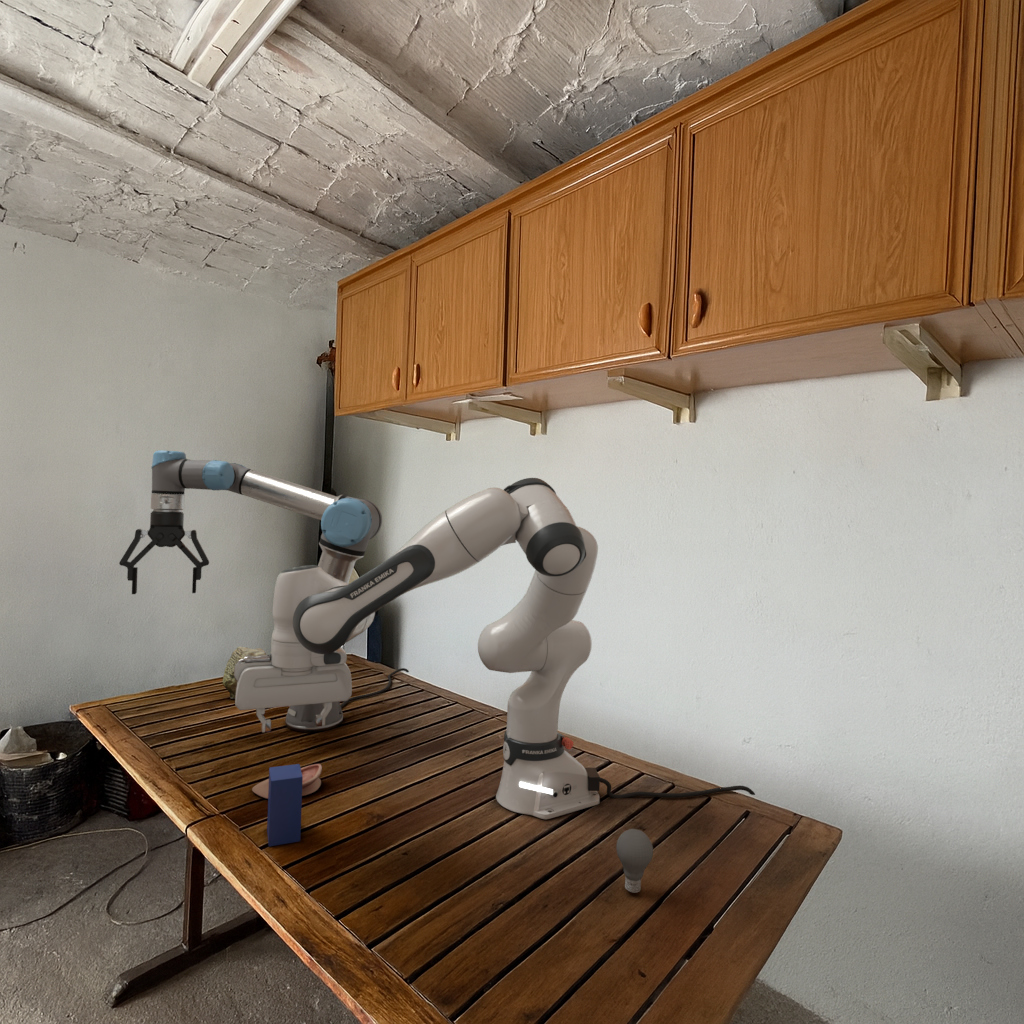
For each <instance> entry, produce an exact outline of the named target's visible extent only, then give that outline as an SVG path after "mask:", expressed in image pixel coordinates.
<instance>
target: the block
mask: <svg viewBox="0 0 1024 1024" xmlns="http://www.w3.org/2000/svg"><path fill="white" fill-rule="evenodd" d="M301 768H302V767H301V764H300V763H296V764H287V765H279V766H271V767H269V768H268V779H269V790H268V799H267V817H266V818H267V819H266V820H267V821H266V833H267V843H268V847H275V846H280V845H287V844H292V843H299V842H301V835H302V834H301V833H302V809H303V808H302V806H303V796H302V781H303V776H302V772H301Z"/></svg>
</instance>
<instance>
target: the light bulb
mask: <svg viewBox="0 0 1024 1024" xmlns="http://www.w3.org/2000/svg"><path fill="white" fill-rule="evenodd" d="M615 849H616V854H617V857H618V859H619V861H620V863H621V865H622V867H623V873H624V874H623V875H624V876H625V878H624V888H625V890H627V891H628V892H630V893H634V894H635V893H639V892H640V891H641V889H642V887H641V886H642V879H643V877H644V875H645V871H646V868H647V867H648V866H649V864H650V863H651V861H652V859H653V855H654V847H653V843H652V841H651V838H649V836H648V835H647V834H646V833H645V832H643V831H642V830H641V829H636V828H629V829H627V830H625V831H623V832H622V833H621V834H620V835H619V837H618V839H617V841H616V847H615Z"/></svg>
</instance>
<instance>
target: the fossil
mask: <svg viewBox="0 0 1024 1024" xmlns="http://www.w3.org/2000/svg"><path fill="white" fill-rule="evenodd" d="M261 655H268V654H267V653H266V652H265V650H264V649H263V648H260V647H258V648H251V647H247V646H246V647H245V646H238V647H237V648H236V649H235V650H233V651H232V653H231V656H230V657H229V659H228V660H227V663H226V666H225V668H224V671H223V675H222V676H223V677H222V685H223V687H224V688H225V690H226V691H228V693H229V698H230V699H235V695H236V687H237V682H238V681H237V680H236V679H235V677H234V667H235V664H236V663H237V662H238V661H239V660H241V659H244V657H246V656H261ZM242 662H244V661H242ZM242 662H240V663H242ZM270 663H271V661H270Z"/></svg>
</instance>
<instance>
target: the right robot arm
mask: <svg viewBox="0 0 1024 1024" xmlns="http://www.w3.org/2000/svg"><path fill="white" fill-rule="evenodd" d="M516 543H518V545H519V547H520V548H521V550H522V552H523V553H524V555H525V556H526V559H527V561H528V563H529V564H530V565H531V567H532V568H533V569H534V573H533V576H532V578H531V580H530V583H529V585H528V587H527V590H526V591H525V593H524V595H523V596H522V598H521V599H520V601H519V602H518V603H517V604H516V605H514V606H513V608H512V609H511V610H510V611H507V613H505V615H503V616H502V617H500V618H498V619H497V620H495V621H493V622H491V623H489V624H487V625H486V626H484V628H483V629H482V631H481V632H480V634H479V637H478V641H477V652H478V657H479V659H480V661H481V663H482V664H483V665H484V667H485V668H487V670H489V671H492V672H493V671H494V672H500V673H508V674H516V673H525V672H526V673H527V672H530V674H529V676H528V677H527V678H526V680H525V681H524V682H523V683H522V684H520V685H519V686H517V687H515V688H514V690H512V692H511V693H510V694H509V697H508V700H507V711H506V712H507V713H506V730H505V731H504V736H503V744H502V755H503V757H502V758H503V766H502V770H501V771H502V772H501V777H500V781H499V784H498V787H497V788H498V789H497V791H496V794H495V799H496V801H497V803H498V804H499V805H500V806H502V807H503V808H504V809H506V810H509V811H511V812H514V813H518V814H522V815H523V814H524V815H528V816H533V817H535V818H537V819H542V820H550V819H554V818H558V817H560V816H564V815H568V814H570V813H575V812H577V811H580V810H583V809H587V808H590V807H594V806H597V805H600V802H601V799H600V794H599V791H600V787H601V786H600V784H603V785H605V786H606V794H607V796H608V797H610V798H611V799H630V798H634V797H649V798H661V799H663V798H664V799H682V798H692V797H700V796H701V797H702V796H707V795H712V794H716V793H725V792H734V791H745V792H747V793H748V794H749V795H751V796H756V792H754V790H752V789H751V788H750V787H748V786H745V785H732V786H721V787H720V786H719V787H715V788H714V787H713V788H709V789H704V790H696V791H688V792H668V793H667V792H653V791H633V792H627V793H624V794H614V793H613V792H612V784H611V783H610V781H609V780H608V779H606V778H603V777H601V776H600V774H599V773H598V771H597V769H596V767H585V766H584V765H583V764H582V763H581V762H580V761H579V760H577V759H576V758H575V757H574V756H573V755H572V754H570V753H569V752H568V751H566V750H571V749H573V748H574V741H573V740H572V739H570V738H569V737H567V736H566V737H565V735H563V734H562V733H560V732H559V731H558V730H559V729H558V728H559V717H560V707H561V700H562V696H563V694H564V692H565V689H566V687H567V685H568V682H569V681H570V679H571V678H572V676H573V675H574V674H575V672H576V671H577V670H578V669H579V668H580V667H581V666H582V665H583V664H586V662H587V661H588V660H589V658H590V655H591V652H592V648H593V647H592V646H593V643H592V642H593V641H592V640H593V639H592V635H591V633H590V631H589V629H588V627H587V626H586V625H585V624H584V622H582V621H579V620H575V617H576V616H577V615H578V612H579V610H580V609H581V606H582V603H583V601H584V598H585V596H586V593H587V591H588V588H589V587H590V584H591V582H592V579H593V576H594V572H595V569H596V565H597V560H598V553H599V545H598V541H597V539H596V537H595V536H594V535H593V534H592V533H591V532H590V531H588V530H587V529H586V528H584V527H581V526H578V525H577V523H576V521H575V519H574V517H573V515H572V513H571V512H570V509H568V506H566V505H565V503H564V502H563V501H562V499H561V498H560V497H559V496H558V495H557V492H556V491H555V489H554V488H553V487H552V486H551V485H550V484H549V483H548V482H546V481H545V480H543V479H542V478H538V477H527V478H522V479H520V480H517V481H515V482H513V483H512V484H509V485H507V486H506V487H504V488H503V489H502V488H500V487H489V488H486V489H483V490H481V491H478V492H476V493H474V494H472V495H470V496H467V497H466V498H463V499H462V500H460V501H458V502H455V504H453V505H451V506H450V507H448V508H447V509H445V510H444V511H442V512H441V513H439V514H438V515H436V516H435V517H433V519H431V520H430V521H428V523H426V524H425V525H424V526H423V527H422V528H420V530H419V531H417V533H415V534H414V535H413V536H412V537H411V538H410V539H408V541H406V542H405V544H403V545H401V547H400V548H399V549H398V550H396V551H395V552H394V553H393V554H392V555H391V556H390V557H388V558H387V559H385V560H384V561H383V562H381V563H379V564H378V565H377V566H375V567H374V568H372V569H370V570H368V571H367V572H366V573H363V574H362V575H360V576H359V577H357V578H356V579H354V580H353V581H351V582H349V583H345V582H343V581H340V580H338V579H336V578H334V577H333V576H331V575H329V574H328V573H326V572H325V571H324V570H323V569H322V568H321V567H320V566H318V564H316V565H315V564H307V565H300V566H295V567H294V566H293V567H290V568H285V569H284V570H282V571H281V572H279V574H278V576H277V578H276V580H275V584H274V590H273V599H272V600H273V601H272V619H273V623H274V625H273V626H274V627H273V630H272V634H271V645H270V646H271V647H270V654H267V655H261V656H246V657H244V659H241V660H239V661H238V662H237V663H236V664H235V667H234V677H235V679H236V680H237V681H238V682H237V687H236V695H235V698H234V705H235V707H236V708H237V709H238V711H249V710H250V711H251V710H255V714H256V715H255V716H256V717H257V718H258V720H259V721H260V723H261V733H269V732H272V719H266V717H265V716H264V715H265V713H266V709H271V708H272V709H273V708H284V707H290V706H296V705H307V704H318V703H323V706H324V709H323V710H322V712H321V714H320V715H316V726H317V727H319V726H325V717H326V716H327V715H328V713H329V711H330V710H331V708H332V702H340V703H341V702H345V701H347V700H348V699H349V698H352V695H353V682H352V674H351V673H352V672H351V670H350V668H349V666H348V664H347V663H346V662H347V661H348V660H347V659H348V655H347V651H346V650H345V649H344V648H343V646H344V645H346V644H347V643H349V642H350V641H351V640H353V639H354V638H356V637H358V636H360V635H361V634H363V633H364V632H365V631H366V630H367V629H368V628H369V627H370V626H371V625H372V624H373V622H374V620H375V617H376V612H377V611H378V610H381V609H382V608H383V607H385V606H387V605H388V604H390V603H391V602H393V601H395V600H396V599H397V598H399V597H401V596H403V595H405V594H407V593H409V592H411V591H413V590H415V589H418V588H421V587H424V586H427V585H430V584H433V583H436V582H440V581H443V580H445V579H448V578H450V577H453V576H455V575H458V574H460V573H462V572H465V571H466V570H469V569H470V568H472V567H473V566H475V565H477V564H479V563H481V562H482V561H483V560H485V559H486V558H487V557H490V555H492V554H493V553H494V552H496V551H497V550H498V549H499V548H501V547H502V546H506V545H509V544H510V545H511V544H516ZM242 661H244V662H242ZM270 661H271V663H270ZM240 662H242V663H240ZM565 749H566V750H565ZM720 788H721V789H720Z"/></svg>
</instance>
